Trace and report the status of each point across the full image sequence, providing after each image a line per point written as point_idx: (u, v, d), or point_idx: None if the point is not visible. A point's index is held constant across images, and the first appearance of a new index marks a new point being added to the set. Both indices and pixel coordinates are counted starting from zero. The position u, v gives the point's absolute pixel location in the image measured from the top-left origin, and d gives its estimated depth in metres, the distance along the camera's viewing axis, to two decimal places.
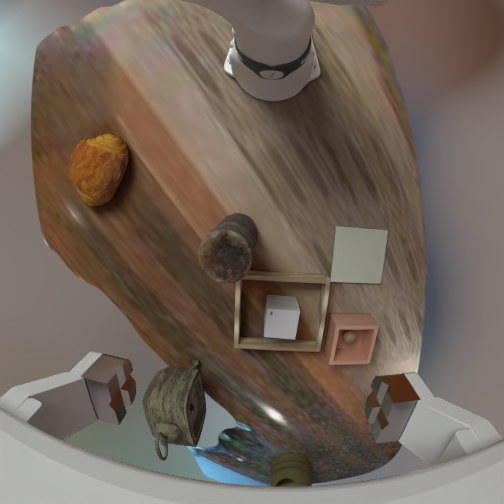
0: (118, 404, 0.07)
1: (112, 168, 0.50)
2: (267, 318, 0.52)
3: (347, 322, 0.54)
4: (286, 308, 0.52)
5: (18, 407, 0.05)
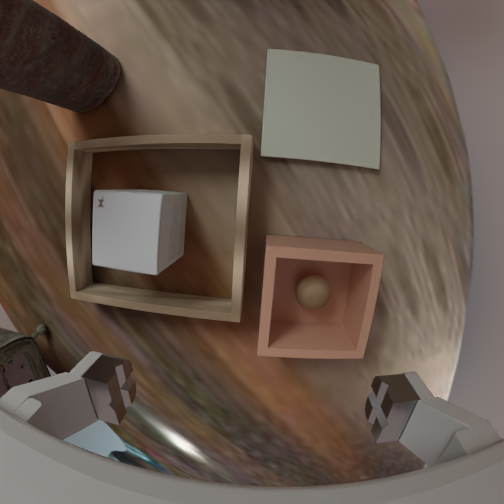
0: (118, 404, 0.07)
1: None
2: (94, 216, 0.20)
3: (300, 244, 0.22)
4: (135, 191, 0.20)
5: (18, 407, 0.05)
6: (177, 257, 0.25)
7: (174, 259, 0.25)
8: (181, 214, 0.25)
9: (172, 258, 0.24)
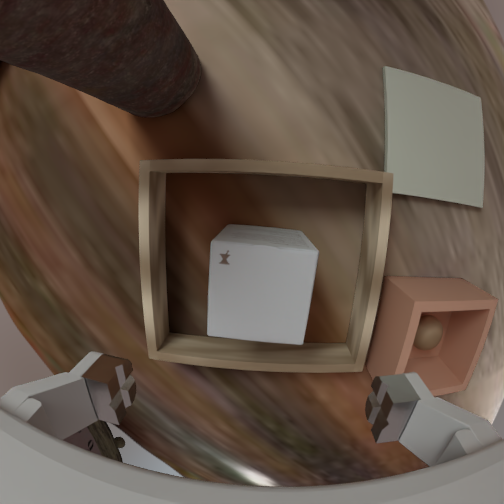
0: (118, 404, 0.07)
1: None
2: (213, 275, 0.16)
3: (434, 294, 0.19)
4: (274, 243, 0.17)
5: (18, 407, 0.05)
6: None
7: None
8: None
9: None
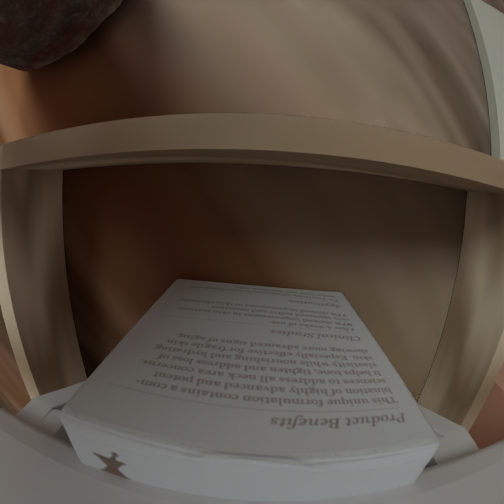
0: None
1: None
2: None
3: None
4: (287, 427, 0.04)
5: (42, 420, 0.05)
6: None
7: None
8: None
9: None
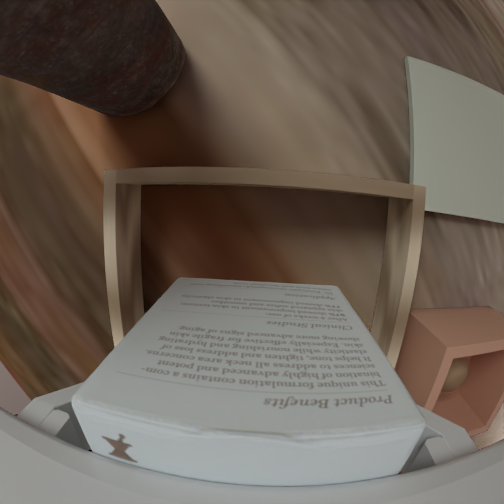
0: None
1: None
2: None
3: (466, 333, 0.14)
4: (279, 406, 0.04)
5: (43, 420, 0.05)
6: None
7: None
8: None
9: None
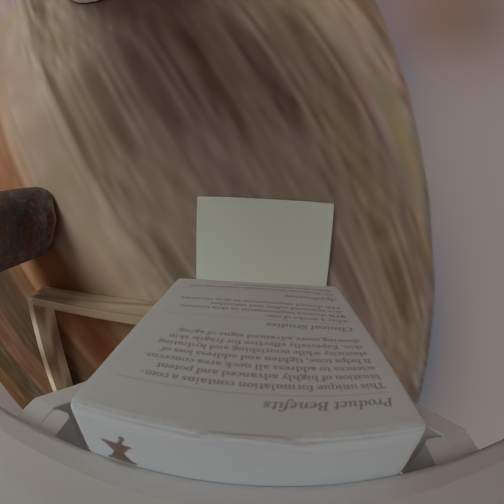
0: None
1: None
2: None
3: None
4: (279, 409, 0.04)
5: (43, 420, 0.05)
6: None
7: None
8: None
9: None
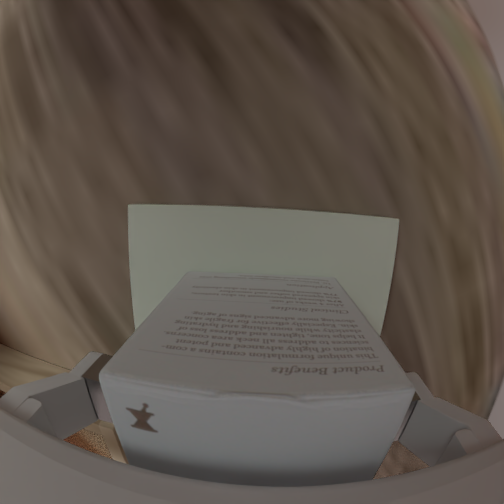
0: None
1: None
2: (127, 445, 0.05)
3: None
4: (285, 374, 0.05)
5: (18, 407, 0.05)
6: None
7: None
8: None
9: None
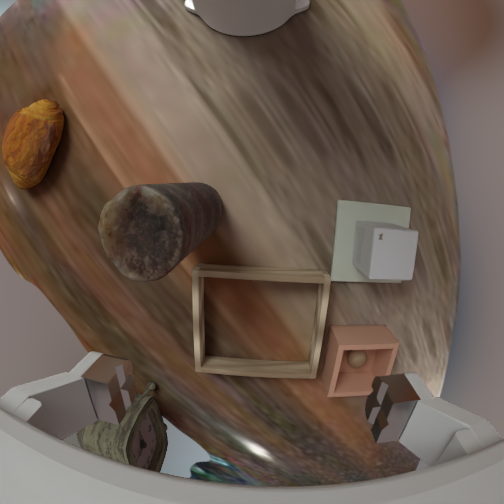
0: (118, 404, 0.07)
1: (40, 138, 0.32)
2: (375, 245, 0.31)
3: (355, 339, 0.37)
4: (399, 228, 0.31)
5: (18, 407, 0.05)
6: None
7: None
8: None
9: None
